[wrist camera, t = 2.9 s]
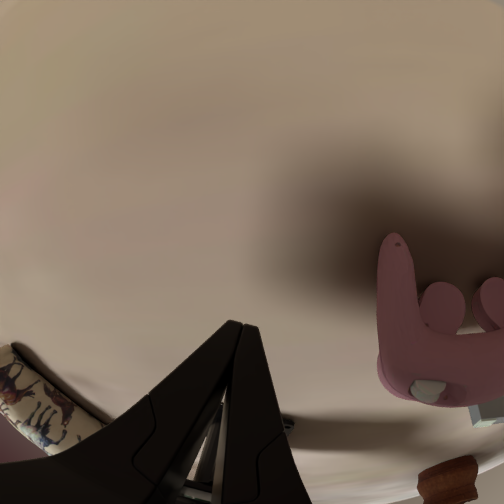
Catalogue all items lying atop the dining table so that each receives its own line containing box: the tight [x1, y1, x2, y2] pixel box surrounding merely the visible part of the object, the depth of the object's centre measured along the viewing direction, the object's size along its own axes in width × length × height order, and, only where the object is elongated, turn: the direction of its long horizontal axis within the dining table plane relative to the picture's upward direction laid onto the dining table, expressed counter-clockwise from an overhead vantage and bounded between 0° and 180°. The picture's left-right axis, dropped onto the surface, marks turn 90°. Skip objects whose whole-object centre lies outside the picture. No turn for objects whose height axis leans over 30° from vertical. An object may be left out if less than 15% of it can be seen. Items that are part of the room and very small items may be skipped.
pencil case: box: [0, 344, 106, 456], centre depth 25 cm, size 22×8×10 cm, turn 42°
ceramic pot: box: [417, 455, 478, 504], centre depth 22 cm, size 18×18×7 cm
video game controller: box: [376, 233, 504, 408], centre depth 9 cm, size 10×5×7 cm, turn 99°
